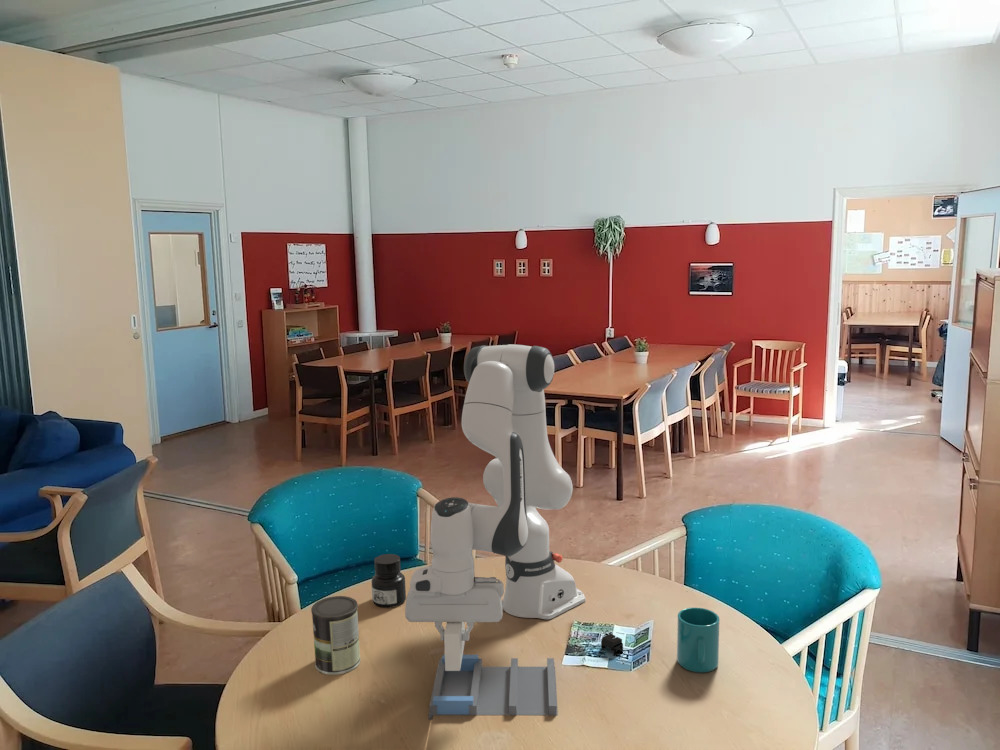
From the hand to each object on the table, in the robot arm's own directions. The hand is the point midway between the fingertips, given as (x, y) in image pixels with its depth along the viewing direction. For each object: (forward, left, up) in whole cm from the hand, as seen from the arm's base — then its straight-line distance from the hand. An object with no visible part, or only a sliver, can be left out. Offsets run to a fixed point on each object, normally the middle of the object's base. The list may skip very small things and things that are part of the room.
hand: (455, 639), depth 164 cm
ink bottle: (-7, -49, -13) cm, 51 cm away
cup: (-50, +21, -13) cm, 56 cm away
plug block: (0, 0, -4) cm, 4 cm away
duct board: (-7, +4, -13) cm, 15 cm away
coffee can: (+16, -27, -13) cm, 34 cm away
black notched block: (-38, +6, -13) cm, 40 cm away
